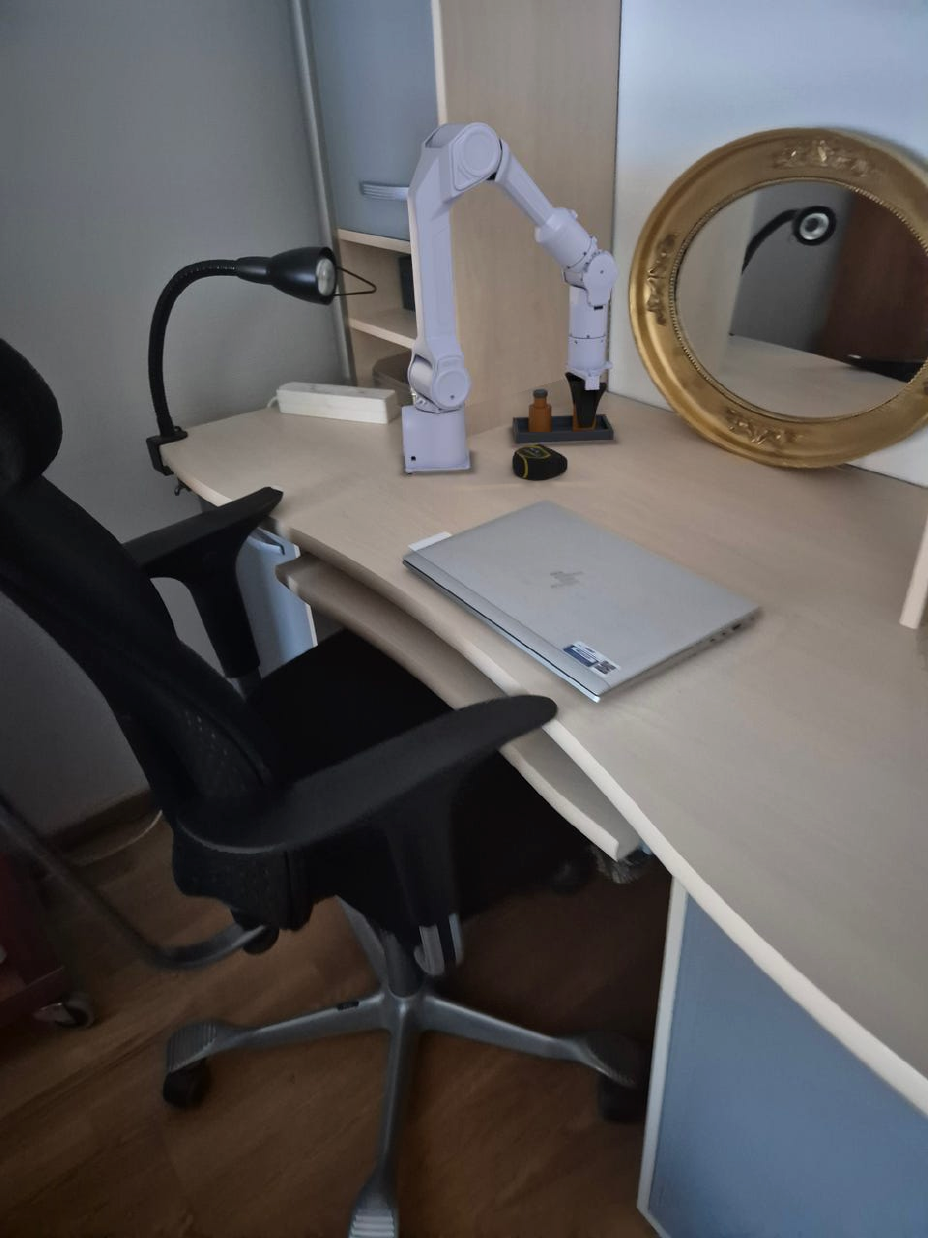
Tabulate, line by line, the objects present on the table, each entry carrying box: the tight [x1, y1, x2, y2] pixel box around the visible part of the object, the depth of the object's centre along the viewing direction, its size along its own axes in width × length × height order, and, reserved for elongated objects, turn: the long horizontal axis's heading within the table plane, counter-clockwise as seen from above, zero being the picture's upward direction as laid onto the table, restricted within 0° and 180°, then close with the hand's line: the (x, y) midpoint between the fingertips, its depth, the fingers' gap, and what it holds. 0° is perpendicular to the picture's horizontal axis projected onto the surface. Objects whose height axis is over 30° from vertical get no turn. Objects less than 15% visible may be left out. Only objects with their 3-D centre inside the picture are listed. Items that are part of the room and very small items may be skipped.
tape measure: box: [511, 443, 569, 481], centre depth 115 cm, size 7×7×4 cm
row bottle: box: [528, 388, 552, 432], centre depth 128 cm, size 4×4×7 cm
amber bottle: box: [572, 403, 596, 431], centre depth 128 cm, size 4×4×7 cm
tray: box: [512, 413, 614, 445], centre depth 130 cm, size 15×8×2 cm, turn 91°
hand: (583, 422), depth 129 cm, fingers closed on amber bottle, 3 cm apart
